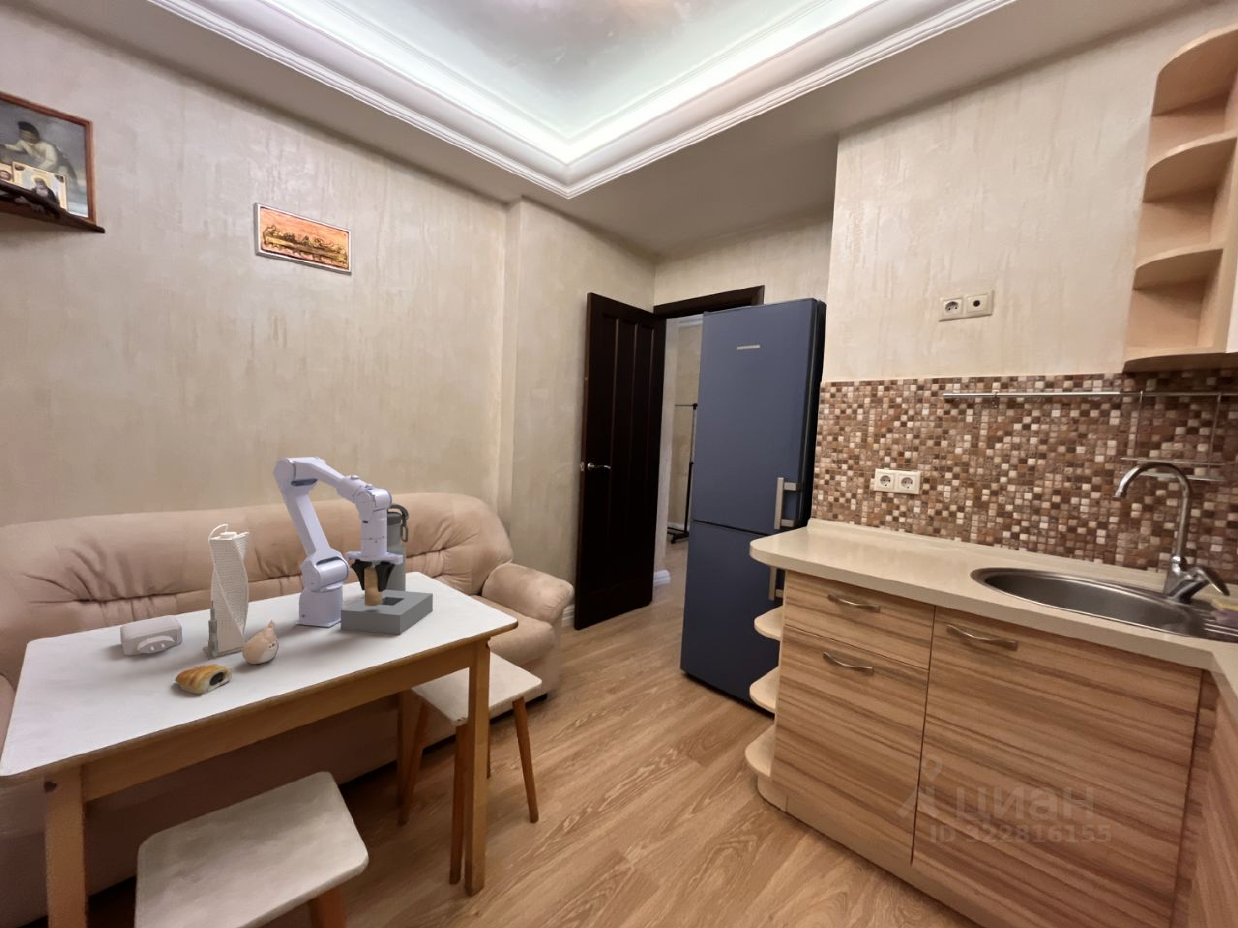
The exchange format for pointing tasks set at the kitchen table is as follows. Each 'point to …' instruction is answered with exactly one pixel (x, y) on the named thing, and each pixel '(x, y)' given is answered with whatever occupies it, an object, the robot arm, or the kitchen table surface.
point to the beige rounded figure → (261, 646)
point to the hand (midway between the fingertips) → (373, 589)
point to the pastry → (203, 678)
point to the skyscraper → (227, 594)
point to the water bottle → (396, 546)
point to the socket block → (388, 612)
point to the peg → (371, 587)
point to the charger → (150, 635)
